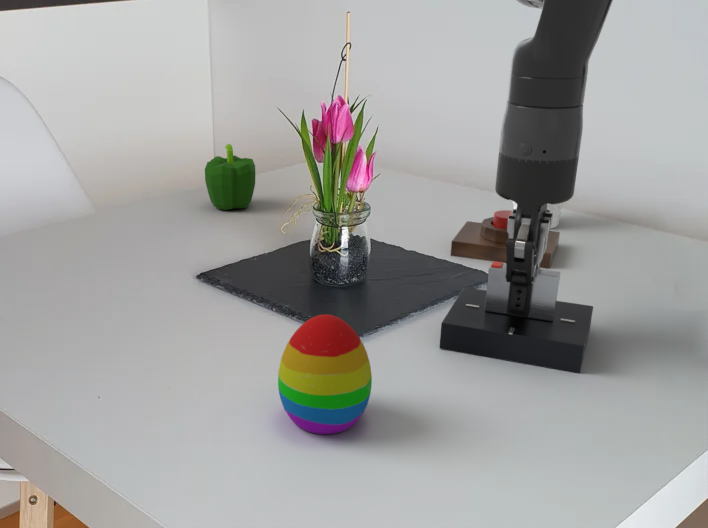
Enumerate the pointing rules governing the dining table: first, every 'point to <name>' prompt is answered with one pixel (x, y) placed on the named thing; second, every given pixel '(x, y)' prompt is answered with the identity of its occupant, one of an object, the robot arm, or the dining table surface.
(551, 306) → the grey rectangular box
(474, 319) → the card holder base
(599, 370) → the dining table surface
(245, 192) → the bell pepper
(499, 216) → the button
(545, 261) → the button block
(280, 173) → the dining table surface
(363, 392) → the decorative egg
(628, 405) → the dining table surface
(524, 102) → the robot arm
